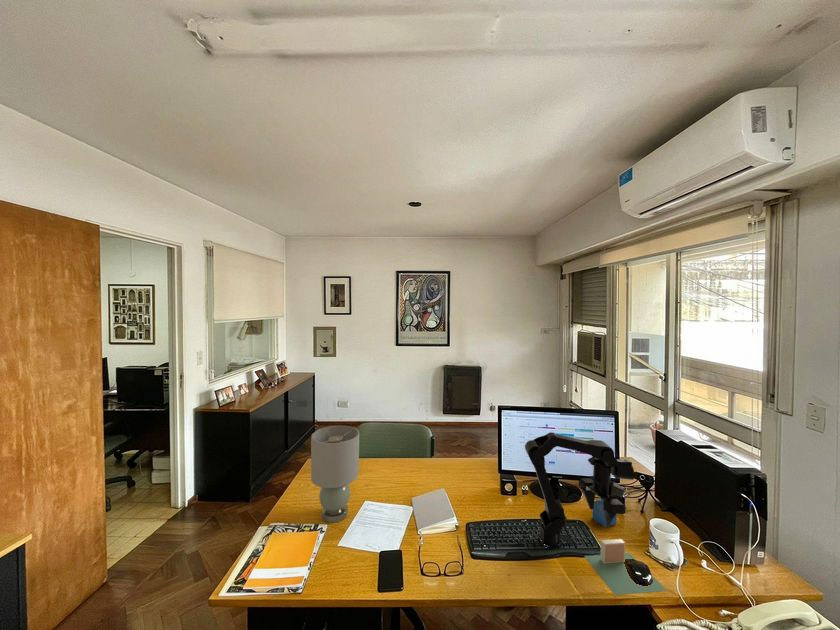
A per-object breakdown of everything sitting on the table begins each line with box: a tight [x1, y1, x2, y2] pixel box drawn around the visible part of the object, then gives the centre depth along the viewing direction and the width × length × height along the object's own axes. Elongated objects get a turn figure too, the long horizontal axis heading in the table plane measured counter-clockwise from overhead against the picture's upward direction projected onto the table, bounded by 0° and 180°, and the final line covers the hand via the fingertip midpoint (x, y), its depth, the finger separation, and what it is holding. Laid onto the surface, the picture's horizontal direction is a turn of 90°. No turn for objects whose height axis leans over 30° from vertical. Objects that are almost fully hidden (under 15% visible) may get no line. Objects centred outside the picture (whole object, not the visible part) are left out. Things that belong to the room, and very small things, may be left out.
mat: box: [583, 552, 668, 596], centre depth 110 cm, size 18×16×1 cm
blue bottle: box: [592, 497, 617, 528], centre depth 137 cm, size 6×6×12 cm
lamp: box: [310, 425, 360, 524], centre depth 138 cm, size 20×20×35 cm
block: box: [599, 538, 626, 563], centre depth 115 cm, size 8×2×7 cm, turn 96°
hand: (599, 516), depth 122 cm, fingers open, 9 cm apart
